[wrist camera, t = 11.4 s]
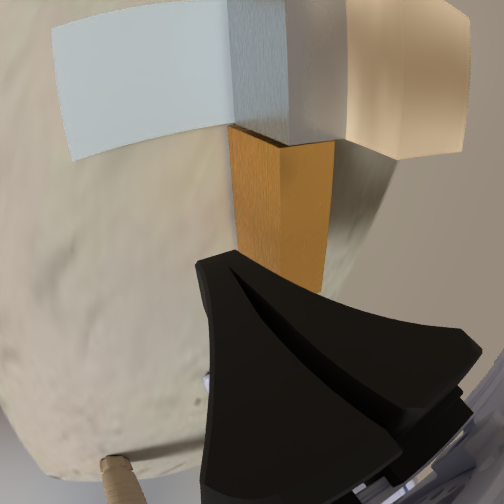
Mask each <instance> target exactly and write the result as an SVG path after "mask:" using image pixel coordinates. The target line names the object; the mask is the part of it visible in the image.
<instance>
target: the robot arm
mask: <svg viewBox="0 0 504 504" xmlns="http://www.w3.org/2000/svg"><path fill="white" fill-rule="evenodd" d="M195 268H196V273H197V278H198V283H199V288H200V292H201V297H202V302H203V306H204V309H205V312H206V314H207V317H208V324H209V340H210V374H208V375H206V376H205V377H204V379H203V381H204V383H205V386H206V389H207V391H208V394H209V399H208V411H207V423H206V434H205V443H204V450H203V457H202V464H201V472H200V489H201V504H504V349H503V350H502V352H501V353H500V355H499V356H498V357H497V359H496V360H495V362H494V365H493V366H492V367H491V369H490V370H489V371H488V373H487V374H486V375H485V377H484V378H483V379H482V380H481V382H480V383H479V384H478V385H477V387H476V388H475V389H474V390H473V391H472V393H471V394H470V395H469V396H468V397H467V398H466V399H465V401H463V400H462V399H461V398H460V396H461V395H462V394H463V391H462V389H461V388H460V387H459V386H458V384H459V382H460V381H461V380H462V379H463V378H464V376H465V375H466V374H467V373H468V372H469V370H470V369H471V368H472V367H473V365H474V364H475V363H476V361H477V360H478V359H479V357H480V356H481V354H482V348H481V347H480V346H479V345H478V344H477V343H476V342H475V341H473V340H472V339H471V338H470V337H469V336H468V335H467V334H466V333H465V332H464V331H463V330H462V329H458V328H447V327H437V326H428V325H421V324H415V323H409V322H404V321H399V320H395V319H390V318H386V317H382V316H379V315H375V314H371V313H368V312H364V311H361V310H358V309H354V308H352V307H349V306H346V305H343V304H341V303H338V302H335V301H333V300H330V299H327V298H325V297H323V296H320V295H318V294H316V293H314V292H311V291H309V290H307V289H305V288H303V287H301V286H299V285H297V284H295V283H293V282H291V281H289V280H287V279H285V278H283V277H281V276H279V275H278V274H276V273H274V272H272V271H270V270H269V269H267V268H265V267H263V266H262V265H260V264H258V263H257V262H255V261H253V260H252V259H250V258H248V257H247V256H245V255H243V254H242V253H240V252H238V251H237V250H232V251H229V252H225V253H222V254H219V255H216V256H212V257H209V258H206V259H202V260H199V261H197V263H196V264H195ZM462 430H463V431H464V433H463V435H462V436H460V437H459V438H458V439H457V440H455V441H454V442H453V443H452V444H450V443H451V442H452V441H453V440H454V439H455V438H456V437H457V435H458V434H459V433H460V432H461V431H462ZM449 444H450V445H449ZM448 445H449V446H448ZM447 446H448V447H447ZM446 447H447V448H446ZM445 448H446V449H445ZM444 449H445V450H444ZM443 450H444V451H443ZM442 451H443V452H442ZM441 452H442V453H441ZM440 453H441V454H440ZM439 454H440V455H439ZM438 455H439V456H438ZM437 456H438V457H437ZM436 457H437V459H436V460H435V461H434V462H433V464H432V465H431V468H432V469H433V470H434V471H433V472H431V473H430V474H429V475H428V476H427V477H425V478H424V479H423V480H422V481H421V482H419V483H418V480H417V478H416V475H418V474H419V473H420V472H421V471H422V470H423V469H424V468H425V467H427V466H428V465H429V464H430V463H431V462H432V461H433V460H434V459H435V458H436Z"/></svg>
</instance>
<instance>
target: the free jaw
mask: <svg viewBox="0 0 504 504" xmlns="http://www.w3.org/2000/svg"><path fill="white" fill-rule="evenodd" d="M227 11H228V27H229V43H230V58H231V73H232V88H233V103H234V117H235V124H236V125H230V126H228V138H229V151H230V163H231V175H232V186H233V198H234V209H235V220H236V231H237V242H238V252H240V253H242V254H243V255H245V256H247V257H248V258H250V259H252V260H253V261H255V262H257V263H258V264H260V265H262V266H263V267H265V268H267V269H269V270H270V271H272V272H274V273H276V274H278V275H279V276H281V277H283V278H285V279H287V280H289V281H291V282H293V283H295V284H297V285H299V286H301V287H303V288H305V289H307V290H309V291H311V292H314V293H319V292H321V287H322V279H323V271H324V263H325V255H326V246H327V237H328V228H329V217H330V206H331V194H332V181H333V166H334V149H335V141H334V140H339V139H346V125H347V96H348V42H347V16H346V0H227Z"/></svg>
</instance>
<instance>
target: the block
mask: <svg viewBox="0 0 504 504" xmlns="http://www.w3.org/2000/svg"><path fill="white" fill-rule="evenodd" d="M346 16H347V42H348V96H347V125H346V140H348V141H351V142H354V143H356V144H359V145H361V146H364V147H366V148H369V149H371V150H374V151H376V152H379V153H381V154H383V155H386V156H388V157H390V158H393V159H395V160H402V159H408V158H416V157H423V156H430V155H438V154H446V153H456V152H462V146H463V140H464V134H465V126H466V118H467V109H468V99H469V87H470V64H471V60H470V59H471V41H470V40H471V39H470V19H469V18H468V17H467V16H465V15H464V14H463V13H461V12H460V11H459V10H457V9H456V8H454V7H453V6H451V5H450V4H448V3H447V2H445V1H444V0H346Z"/></svg>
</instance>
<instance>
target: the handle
mask: <svg viewBox="0 0 504 504" xmlns="http://www.w3.org/2000/svg"><path fill="white" fill-rule="evenodd" d="M131 470H133V468H132V465H131V463H130V461H129V460H128V459H125V458H123V456H107V457H106V458H105V459H103V460H101V461H100V471H101V472H103V473H104V474H103V475H102V480H103V486H104V490H105V493H106V499H107V502H108V504H147V502H146V499H145V497H144V494H143V492H142V491H141V490H142V489H141V487H140V485H139V482H138V480H137V478H136V476H135V474H134V472H132V471H131Z"/></svg>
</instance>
